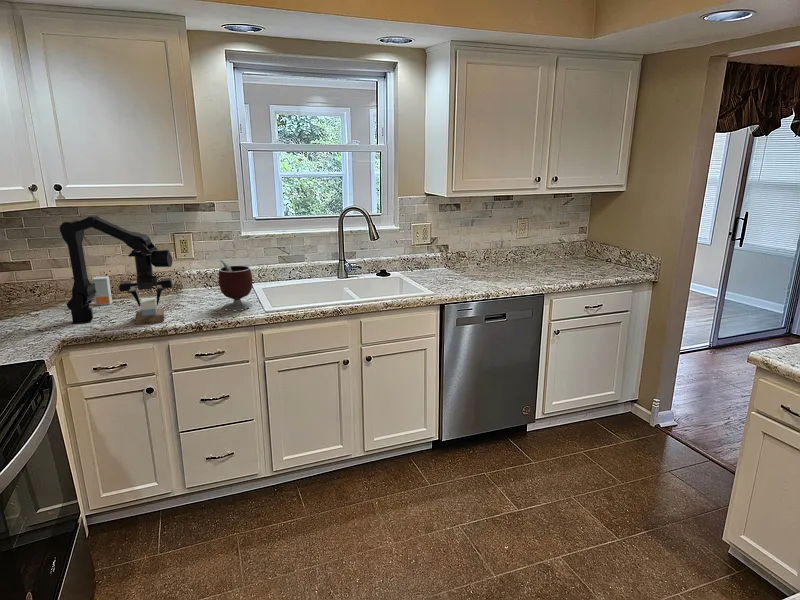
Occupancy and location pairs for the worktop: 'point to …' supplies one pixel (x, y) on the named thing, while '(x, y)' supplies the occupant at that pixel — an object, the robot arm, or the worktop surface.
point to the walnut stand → (149, 317)
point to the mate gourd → (235, 285)
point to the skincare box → (102, 290)
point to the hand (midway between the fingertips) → (148, 305)
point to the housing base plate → (149, 312)
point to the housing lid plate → (148, 303)
